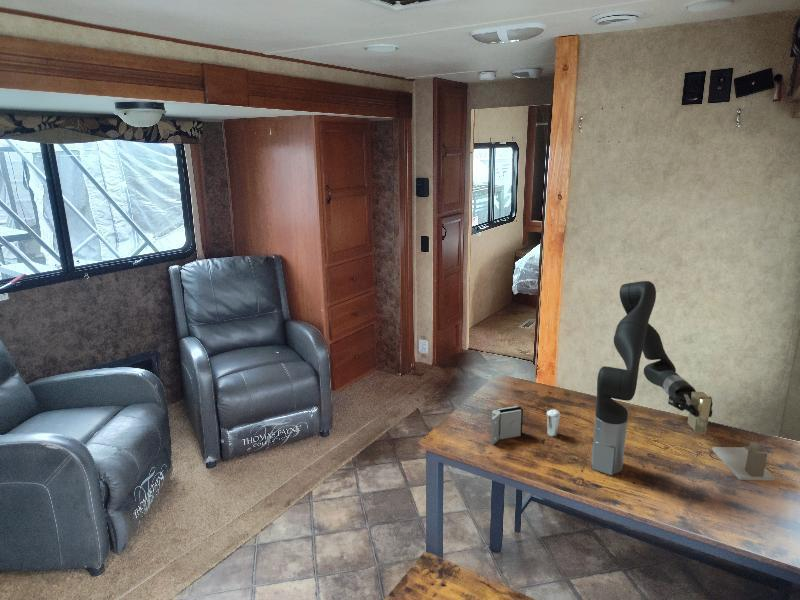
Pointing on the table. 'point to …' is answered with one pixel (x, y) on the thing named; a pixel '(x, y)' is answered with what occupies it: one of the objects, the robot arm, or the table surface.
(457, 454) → the table surface
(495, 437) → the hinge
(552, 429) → the milkshake
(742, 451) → the mounting plate
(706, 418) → the brown tall block
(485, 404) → the table surface
